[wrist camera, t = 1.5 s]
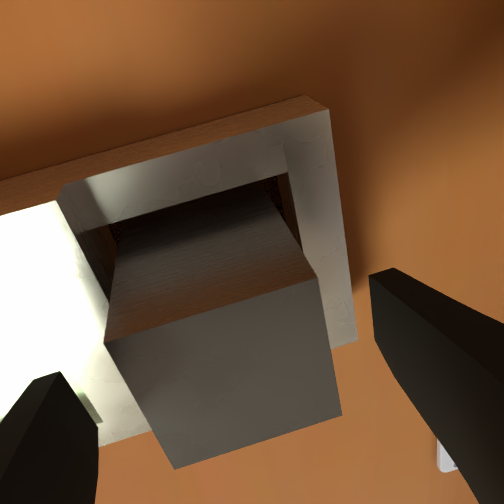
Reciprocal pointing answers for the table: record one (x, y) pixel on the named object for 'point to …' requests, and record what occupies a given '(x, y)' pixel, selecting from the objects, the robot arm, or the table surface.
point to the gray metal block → (219, 325)
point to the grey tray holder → (137, 203)
